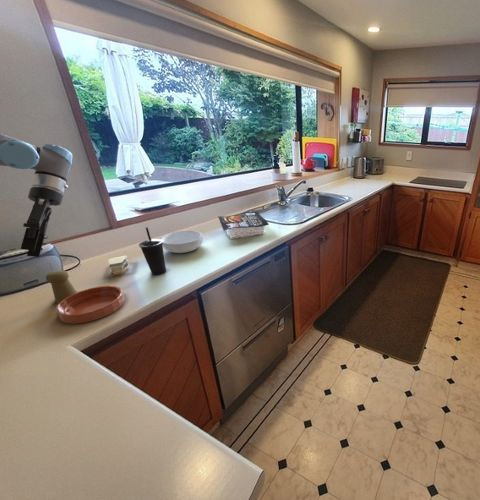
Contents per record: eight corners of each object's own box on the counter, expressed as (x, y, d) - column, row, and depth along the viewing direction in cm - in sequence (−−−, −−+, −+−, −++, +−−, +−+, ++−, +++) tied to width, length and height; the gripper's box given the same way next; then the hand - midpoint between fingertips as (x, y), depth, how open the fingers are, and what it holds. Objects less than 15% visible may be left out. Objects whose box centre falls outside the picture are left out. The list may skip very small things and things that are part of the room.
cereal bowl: (167, 261, 124) (163, 246, 121) (161, 248, 135) (158, 234, 132) (208, 252, 134) (206, 238, 131) (200, 240, 145) (197, 227, 142)
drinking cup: (167, 267, 119) (155, 222, 111) (172, 273, 114) (160, 228, 106) (146, 272, 114) (132, 226, 106) (150, 280, 109) (136, 232, 101)
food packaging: (217, 215, 160) (257, 210, 171) (219, 227, 163) (258, 222, 174) (223, 229, 141) (268, 223, 151) (226, 243, 144) (269, 236, 154)
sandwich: (134, 274, 113) (130, 262, 110) (105, 279, 108) (100, 267, 106) (135, 264, 120) (132, 252, 118) (109, 268, 116) (105, 256, 114)
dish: (47, 328, 83) (41, 318, 82) (80, 297, 97) (76, 288, 96) (111, 322, 87) (106, 311, 85) (133, 293, 101) (130, 283, 100)
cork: (82, 298, 97) (70, 271, 92) (59, 307, 92) (45, 278, 88) (76, 292, 100) (64, 265, 95) (53, 301, 95) (39, 272, 91)
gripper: (61, 182, 86) (44, 248, 82) (65, 204, 104) (50, 260, 99) (25, 173, 81) (4, 244, 77) (35, 198, 99) (18, 257, 94)
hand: (30, 253), depth 88 cm, fingers open, 13 cm apart
